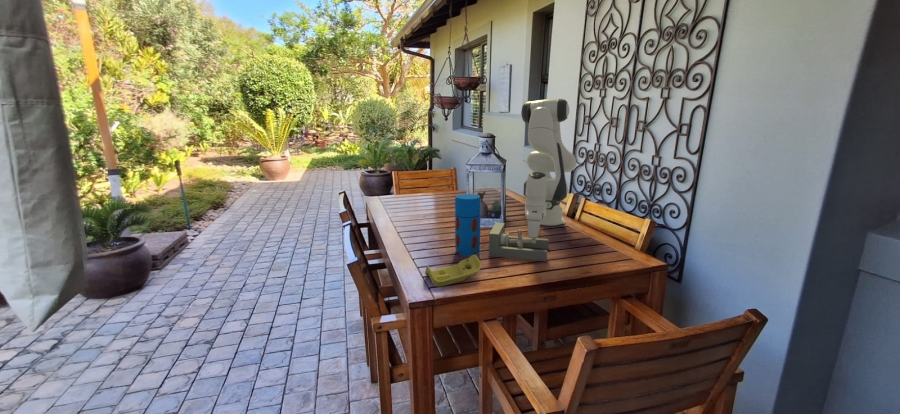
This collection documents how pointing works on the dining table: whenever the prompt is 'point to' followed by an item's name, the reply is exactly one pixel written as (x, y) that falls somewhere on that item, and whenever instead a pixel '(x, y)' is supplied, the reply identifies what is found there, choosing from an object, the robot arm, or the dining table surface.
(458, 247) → the thermos
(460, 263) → the plastic component
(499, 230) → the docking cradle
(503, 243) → the rounded knob
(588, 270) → the dining table surface
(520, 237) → the pipe connector
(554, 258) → the dining table surface
